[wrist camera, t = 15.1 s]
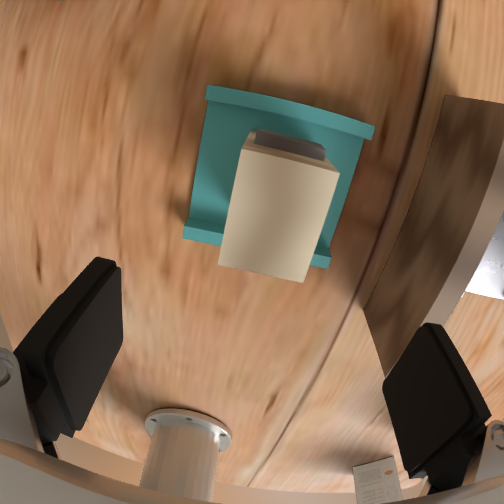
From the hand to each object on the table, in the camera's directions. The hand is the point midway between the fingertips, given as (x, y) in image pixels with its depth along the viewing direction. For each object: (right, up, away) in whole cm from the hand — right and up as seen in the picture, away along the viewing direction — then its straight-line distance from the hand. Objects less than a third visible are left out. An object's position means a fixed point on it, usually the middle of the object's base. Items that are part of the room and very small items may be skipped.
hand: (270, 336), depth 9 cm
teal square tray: (+1, +8, +13) cm, 15 cm away
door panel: (+13, +5, +14) cm, 19 cm away
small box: (+23, -38, +37) cm, 58 cm away
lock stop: (+1, +8, +13) cm, 15 cm away
